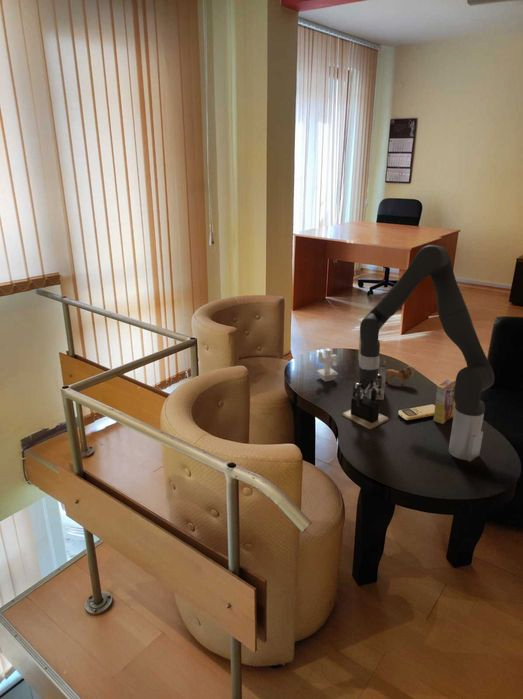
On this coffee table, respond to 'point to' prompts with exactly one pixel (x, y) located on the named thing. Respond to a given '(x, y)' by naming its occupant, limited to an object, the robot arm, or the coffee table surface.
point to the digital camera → (365, 409)
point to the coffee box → (382, 372)
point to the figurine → (327, 365)
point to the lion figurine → (400, 374)
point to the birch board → (363, 422)
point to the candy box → (444, 401)
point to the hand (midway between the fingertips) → (366, 402)
